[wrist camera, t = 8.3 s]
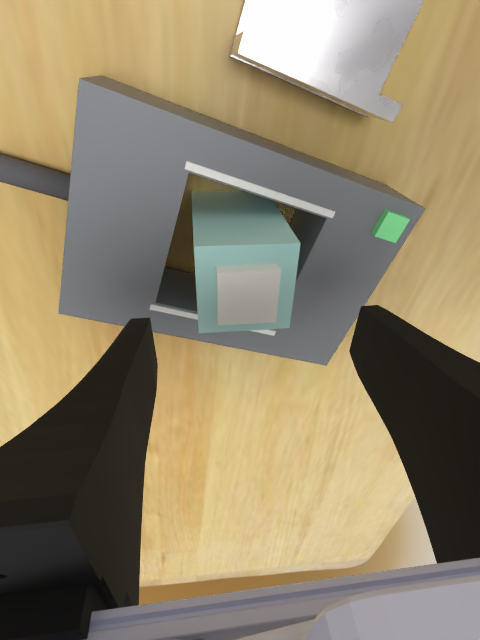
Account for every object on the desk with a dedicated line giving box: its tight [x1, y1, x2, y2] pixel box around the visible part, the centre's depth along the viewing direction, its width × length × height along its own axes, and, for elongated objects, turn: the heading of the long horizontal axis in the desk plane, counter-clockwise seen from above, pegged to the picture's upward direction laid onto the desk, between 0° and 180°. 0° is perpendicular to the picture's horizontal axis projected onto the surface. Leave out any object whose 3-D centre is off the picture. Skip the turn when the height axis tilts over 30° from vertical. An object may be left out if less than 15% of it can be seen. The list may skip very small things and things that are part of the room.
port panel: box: [59, 76, 425, 365], centre depth 18 cm, size 15×10×4 cm, turn 71°
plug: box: [191, 191, 301, 333], centre depth 17 cm, size 4×4×8 cm
